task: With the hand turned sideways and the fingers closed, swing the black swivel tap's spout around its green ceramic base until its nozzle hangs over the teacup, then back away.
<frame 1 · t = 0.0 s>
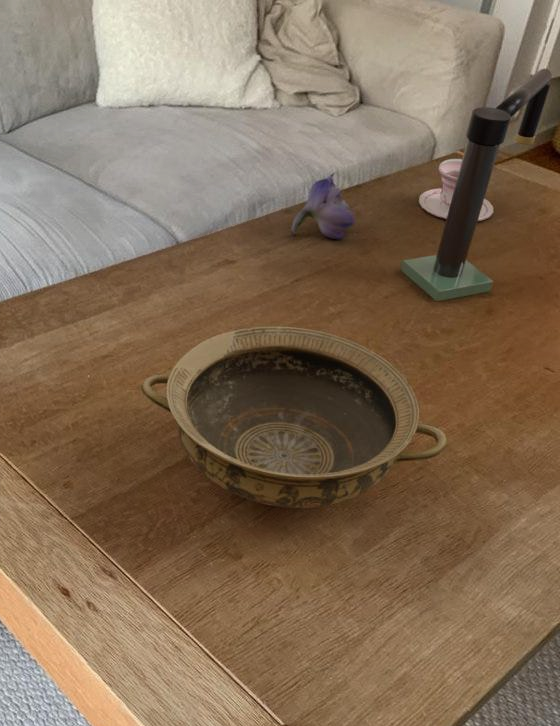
spout: (508, 129, 111), point 17 cm above the table, hinge at 0.0°
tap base: (444, 280, 116), on the table
flower: (321, 235, 125), on the table
ceramic bowl: (280, 471, 85), on the table
teacup: (454, 208, 134), on the table
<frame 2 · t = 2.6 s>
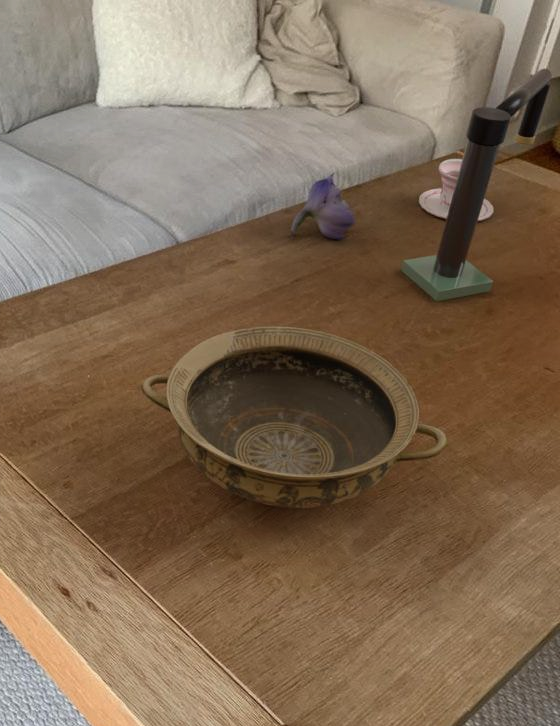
nothing on the table moved.
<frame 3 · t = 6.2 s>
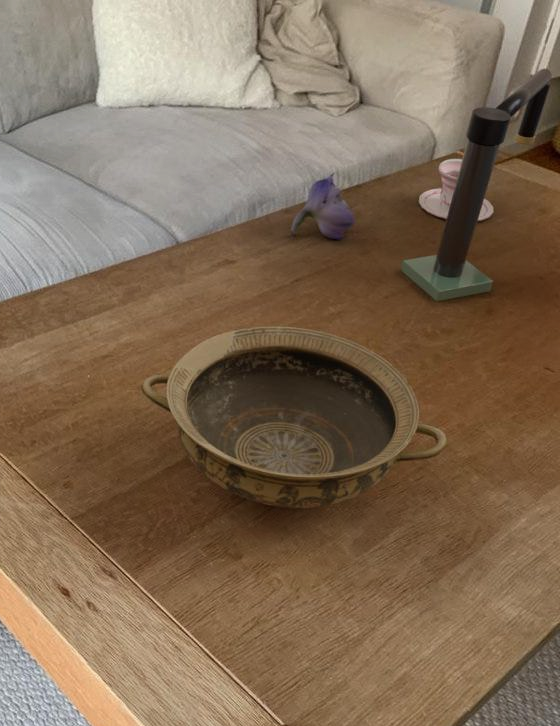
nothing on the table moved.
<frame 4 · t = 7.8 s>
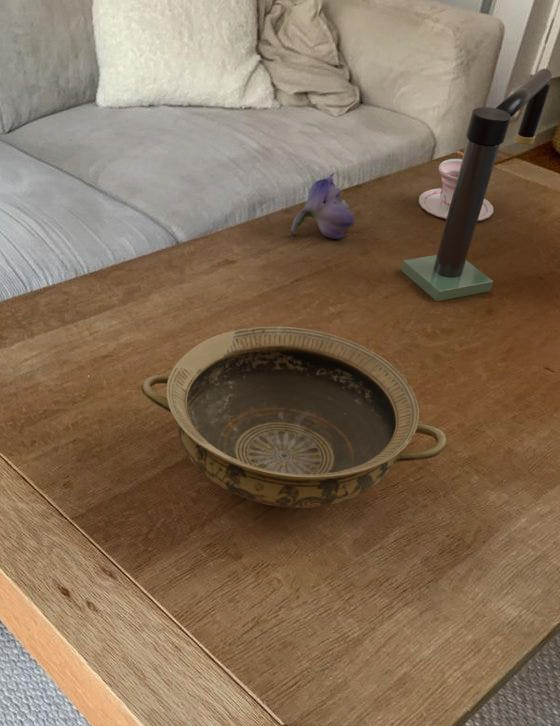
nothing on the table moved.
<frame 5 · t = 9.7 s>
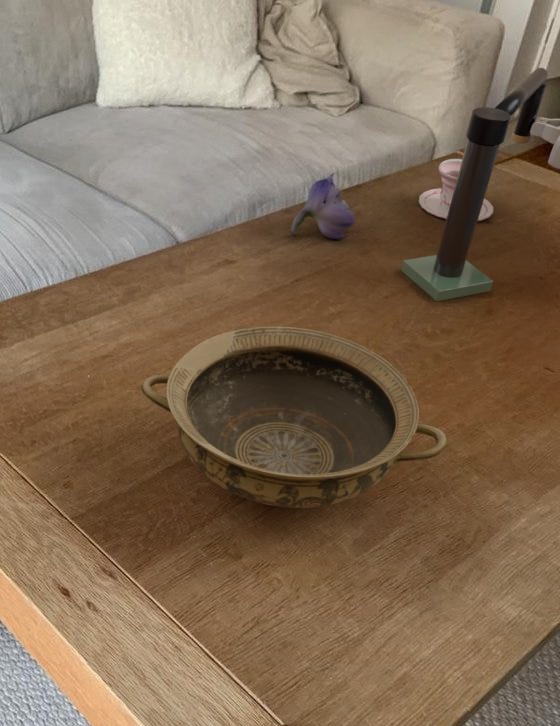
hand: (533, 125, 121), 15 cm above the table, tool horizontal, fingers closed
spout: (506, 129, 112), point 17 cm above the table, hinge at 1.3°
everything else where it was.
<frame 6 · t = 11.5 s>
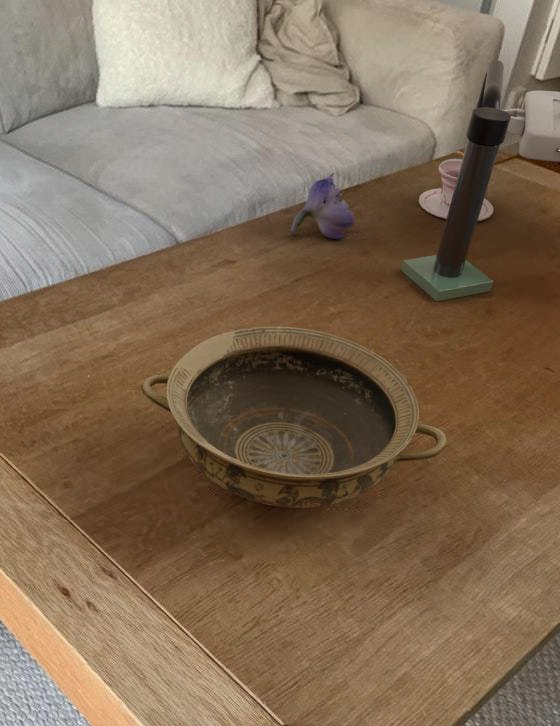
hand: (490, 117, 124), 14 cm above the table, tool horizontal, fingers closed, pressing on spout
spout: (484, 125, 112), point 17 cm above the table, hinge at 15.5°, touching gripper
everything else where it was.
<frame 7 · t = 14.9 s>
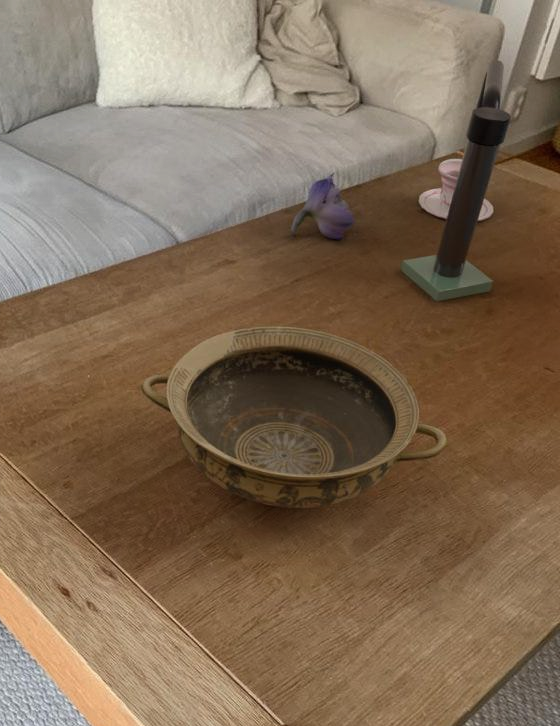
spout: (484, 125, 112), point 17 cm above the table, hinge at 15.5°
everything else where it was.
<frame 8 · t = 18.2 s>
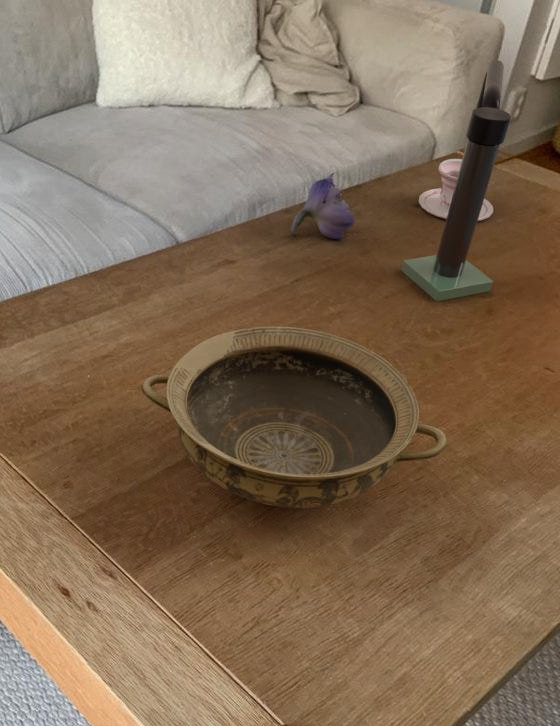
nothing on the table moved.
at the end: spout at +16° (first picture: +0°); teacup moved 0.2 cm from its start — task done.
